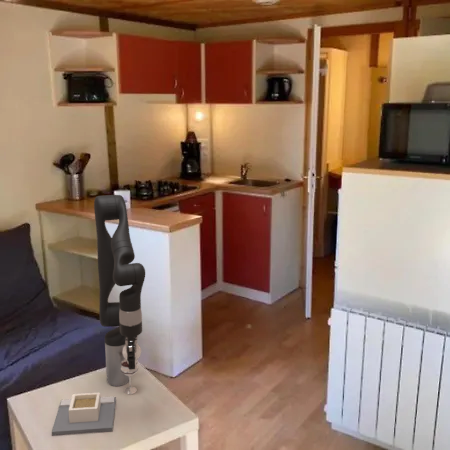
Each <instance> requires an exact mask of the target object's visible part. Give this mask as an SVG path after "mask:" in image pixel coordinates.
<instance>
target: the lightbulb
mask: <svg viewBox="0 0 450 450" xmlns="http://www.w3.org/2000/svg"><path fill="white" fill-rule="evenodd" d="M136 347H137V351H136V353H135V357H136V359H135V369H129V371H130V372H135V371H136V363H137V361H139V358H140V356H141V355H142V349H141V346H140V345H139V343H137V344H136ZM123 356H124V358H125V359H126V360H127V353H126V345H125V346H124V348H123ZM127 363H128V360H127Z"/></svg>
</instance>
